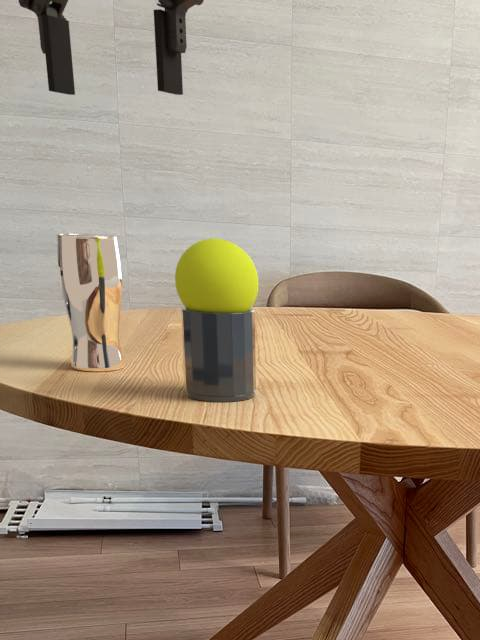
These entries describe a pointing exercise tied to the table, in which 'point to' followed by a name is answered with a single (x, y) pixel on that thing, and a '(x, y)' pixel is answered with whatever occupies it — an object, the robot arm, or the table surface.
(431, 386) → the table surface
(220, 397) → the cup
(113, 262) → the beer glass
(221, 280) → the ball
